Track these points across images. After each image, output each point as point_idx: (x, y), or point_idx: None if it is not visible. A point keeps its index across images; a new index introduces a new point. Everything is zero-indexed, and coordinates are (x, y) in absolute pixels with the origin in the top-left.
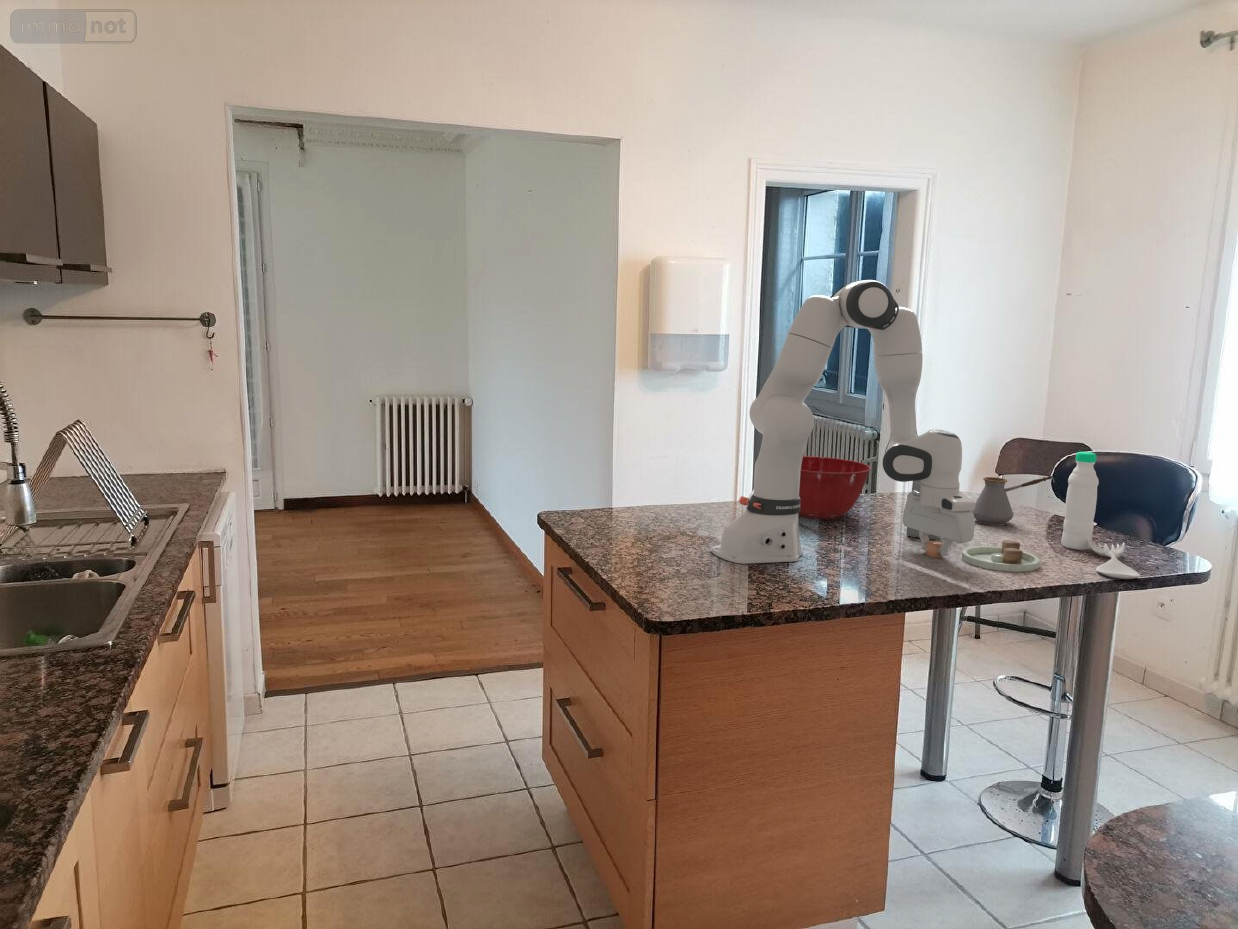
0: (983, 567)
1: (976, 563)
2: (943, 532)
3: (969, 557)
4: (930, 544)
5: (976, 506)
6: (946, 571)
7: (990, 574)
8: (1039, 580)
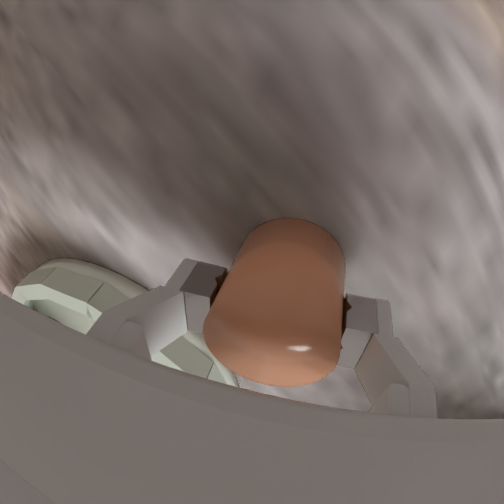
0: (47, 268)
1: (60, 275)
2: (45, 371)
3: (82, 299)
4: (259, 295)
5: None
6: (73, 115)
7: (36, 249)
8: (10, 297)
